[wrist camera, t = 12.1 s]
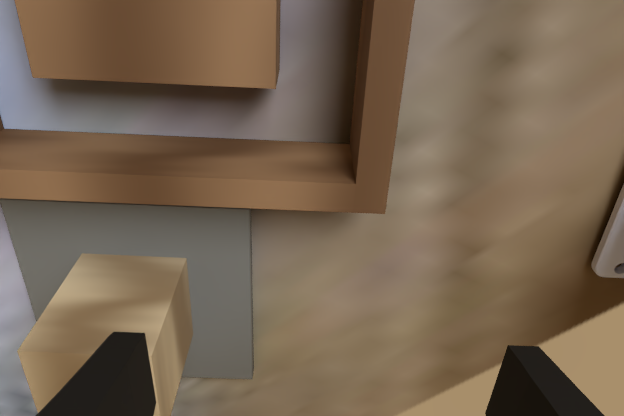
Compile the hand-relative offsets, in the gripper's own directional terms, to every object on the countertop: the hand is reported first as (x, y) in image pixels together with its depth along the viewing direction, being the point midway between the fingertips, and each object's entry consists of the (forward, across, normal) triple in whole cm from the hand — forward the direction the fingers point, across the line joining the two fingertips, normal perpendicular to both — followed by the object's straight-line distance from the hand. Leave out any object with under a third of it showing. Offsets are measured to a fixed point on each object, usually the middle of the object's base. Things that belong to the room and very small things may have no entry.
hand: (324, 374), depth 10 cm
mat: (+9, +7, +6) cm, 13 cm away
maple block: (+9, +7, +6) cm, 13 cm away
